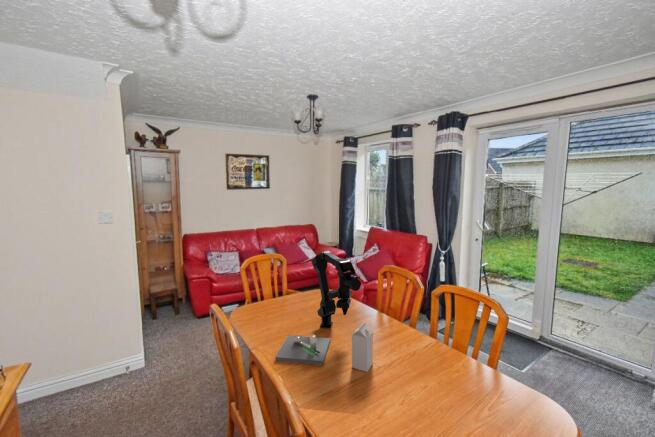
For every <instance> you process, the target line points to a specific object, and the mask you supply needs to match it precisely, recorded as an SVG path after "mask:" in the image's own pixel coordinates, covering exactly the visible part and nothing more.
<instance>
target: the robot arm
mask: <svg viewBox="0 0 655 437" xmlns="http://www.w3.org/2000/svg"><path fill="white" fill-rule="evenodd" d="M328 263H329V264H331V265H332V266H333V267H334V268H335V270H336V271H337V272H336V275H337V276H338V287H337V288H335V289H332V290H330V287H329V281H328V277H327V268H328ZM311 264H312V268H313V270H315V273H316V274H317V278H318V279H317V280H318V285H319V290H320V295H321V299H320V301H319V302H320V303H319V306H320V308H318V310H317V312H316V313H317V316H318V317H320V318H321V319H320V320H321V323H320V325H319V327H320V328H327V329H328V328H329V329H331V328H332V327H333V324H334V322H333V321H332V316H333V315H335V313H336V310H337V309H341V310H342V314H343V315H344V316H346V315H347V313H348V311H349V309H350V305H351V302H352V299H350V298H352V297H353V291H354V292H358V291H359V290H360V289H361V287H362V282H361V280H360V279H359V276H357V273H356V270H355V268H354V266H353V263H352V261H351V260H350V259H347V258H341V257H339V256H336V255H335V254H333V253H331V251H329V250H324V251H321V252H320V253H319V254H317V255H316V256H315V255H314V257H313V258H312V259H311ZM336 298H337V299H338V300H337V301H335V299H336Z"/></svg>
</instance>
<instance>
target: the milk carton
mask: <svg viewBox="0 0 655 437" xmlns="http://www.w3.org/2000/svg"><path fill="white" fill-rule="evenodd" d="M373 344H374V331H373V330H372V329H371V328H370V327H369V326H368V324H367V323H366V321H363V322H362V324H361V325H360V326H359V327H358V328H356V330H355V331H354V332H353V333H352V334H351V369H352V368H353V369H356V370H358V371H363V372H366V373H369V370H370V368H371V367H372V366H373V363H374V359H373V358H374V355H373V354H374V348H373V347H374V346H373Z"/></svg>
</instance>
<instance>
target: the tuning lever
mask: <svg viewBox="0 0 655 437" xmlns="http://www.w3.org/2000/svg"><path fill="white" fill-rule="evenodd" d="M293 336H294V344H297V345H298V344H299V345H301V346H303V347H305V348H307V349H309V350H311V351H315V352H317V353H320V352H319V351H317V350H316V349H317V341H316V337H317V335H316V334H311V335H310V336H309V337H310V345H308V344H306V343H304V342H302V335H301V334H295V335H293Z"/></svg>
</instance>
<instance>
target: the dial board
mask: <svg viewBox="0 0 655 437" xmlns="http://www.w3.org/2000/svg"><path fill="white" fill-rule="evenodd" d="M294 336H295V335H287V337H286V338H285V340H284V342H283V344H282V345H281V347H280V349H279V350H278V352H277V353H276V355H275V359H274V360H275V362H277V363H278V362H281V363H291V364H293V363H294V364H303V365H316V366H324V365H325V361H326V357H327V355H328V351H329V348H330V344H331V337H320V336H319V337H317V336H316V341H317V349H316V350H317V351H319V352H320V353H317V352H315V351H311V350H309V349H307V348H305V347H303V346H301V345H299V344H298V345H297V344H294ZM301 336H302V335H301ZM302 342H304V343H306V344H308V345H310V336H304V335H303V336H302Z"/></svg>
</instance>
